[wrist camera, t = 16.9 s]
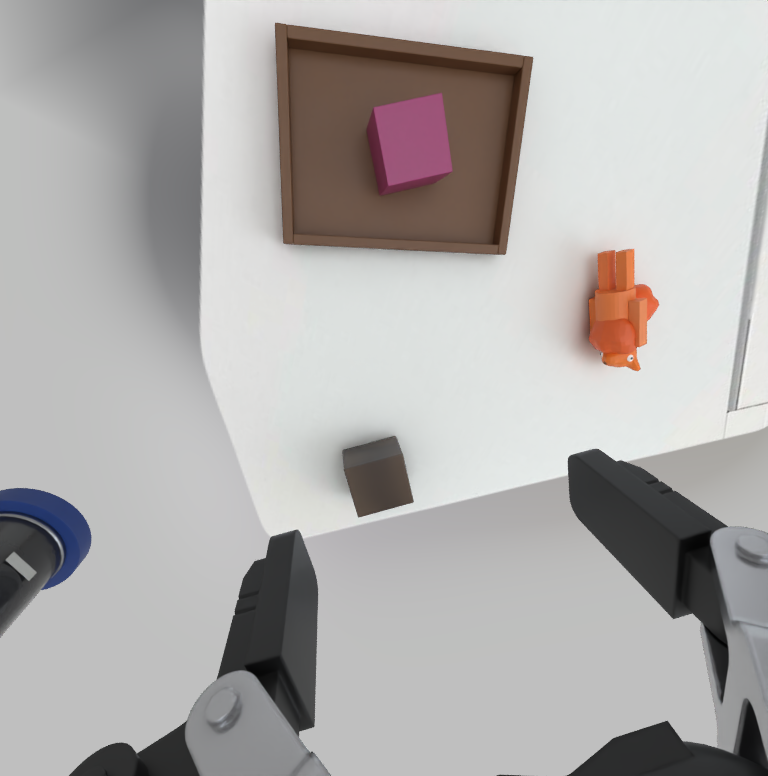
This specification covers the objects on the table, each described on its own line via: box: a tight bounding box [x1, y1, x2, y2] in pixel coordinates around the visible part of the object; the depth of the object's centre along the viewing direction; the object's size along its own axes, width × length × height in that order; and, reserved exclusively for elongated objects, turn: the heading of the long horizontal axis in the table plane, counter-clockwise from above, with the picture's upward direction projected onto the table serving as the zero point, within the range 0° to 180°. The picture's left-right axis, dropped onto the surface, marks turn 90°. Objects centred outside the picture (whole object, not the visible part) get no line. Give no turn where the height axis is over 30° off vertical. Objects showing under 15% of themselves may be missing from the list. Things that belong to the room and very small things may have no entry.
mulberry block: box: [366, 93, 453, 196], centre depth 30 cm, size 5×5×5 cm
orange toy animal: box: [589, 249, 659, 371], centre depth 38 cm, size 5×8×12 cm
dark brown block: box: [343, 436, 414, 517], centre depth 41 cm, size 6×6×4 cm
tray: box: [275, 23, 533, 255], centre depth 32 cm, size 20×15×2 cm
